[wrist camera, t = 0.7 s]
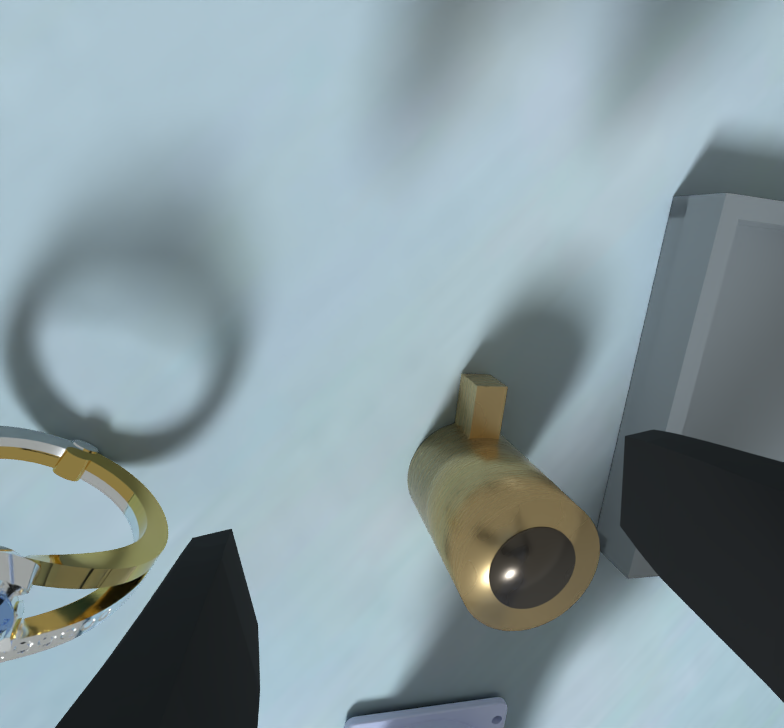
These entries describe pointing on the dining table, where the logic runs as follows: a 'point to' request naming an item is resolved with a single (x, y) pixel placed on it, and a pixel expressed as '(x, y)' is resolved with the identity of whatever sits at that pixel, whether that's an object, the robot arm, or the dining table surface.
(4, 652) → the ring
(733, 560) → the robot arm
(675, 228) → the tray
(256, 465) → the dining table surface
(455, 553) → the brass short cylinder
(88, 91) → the dining table surface
